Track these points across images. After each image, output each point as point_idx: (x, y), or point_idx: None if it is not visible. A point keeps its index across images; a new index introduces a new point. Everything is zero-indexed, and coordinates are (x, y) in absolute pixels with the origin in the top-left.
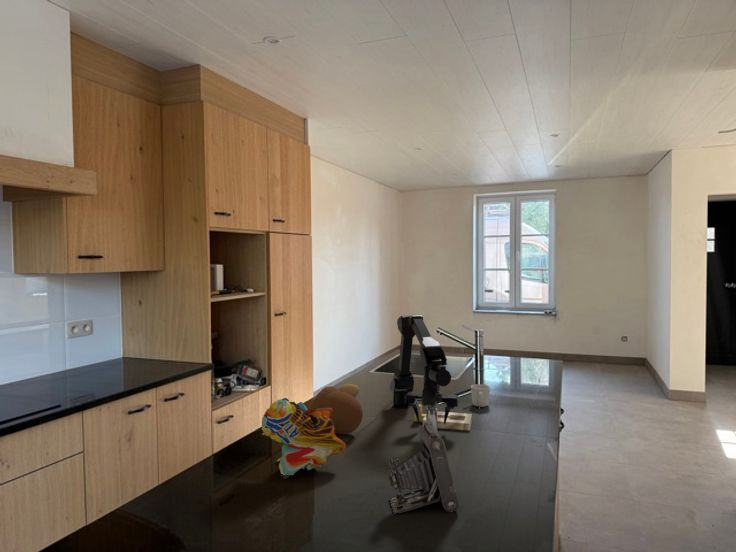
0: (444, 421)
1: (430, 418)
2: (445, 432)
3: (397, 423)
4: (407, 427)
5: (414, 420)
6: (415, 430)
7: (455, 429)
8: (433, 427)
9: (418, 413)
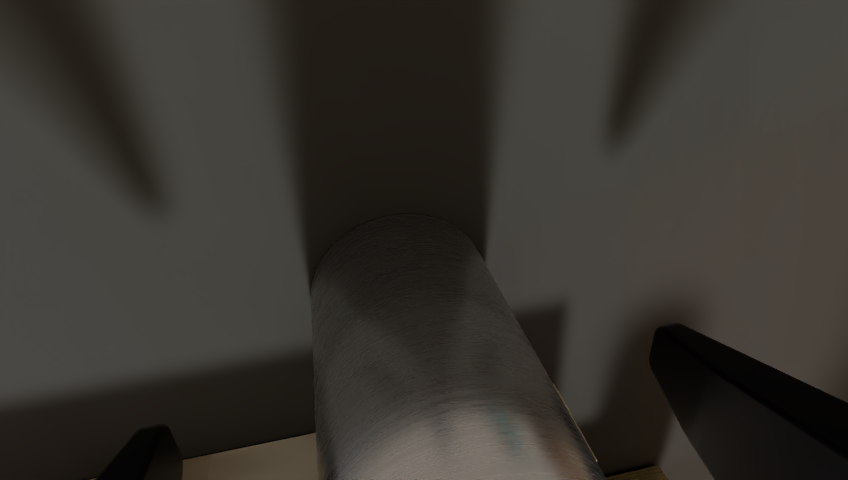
0: (128, 474)
1: (469, 402)
2: (179, 331)
3: (837, 356)
4: (739, 291)
5: (663, 476)
6: (637, 231)
7: (94, 478)
8: (363, 284)
9: (818, 461)
